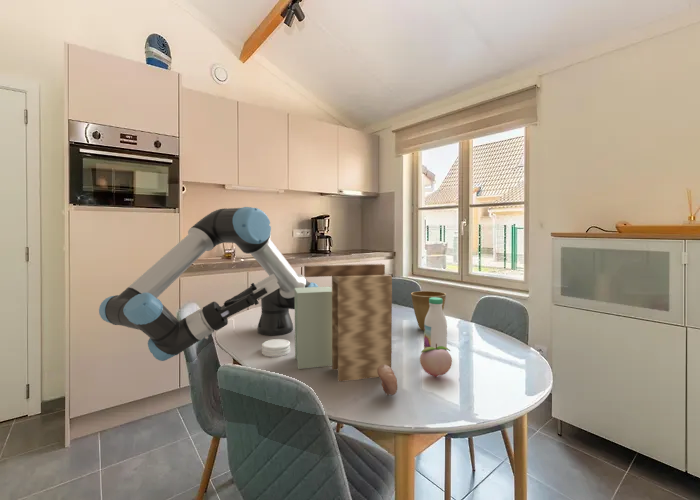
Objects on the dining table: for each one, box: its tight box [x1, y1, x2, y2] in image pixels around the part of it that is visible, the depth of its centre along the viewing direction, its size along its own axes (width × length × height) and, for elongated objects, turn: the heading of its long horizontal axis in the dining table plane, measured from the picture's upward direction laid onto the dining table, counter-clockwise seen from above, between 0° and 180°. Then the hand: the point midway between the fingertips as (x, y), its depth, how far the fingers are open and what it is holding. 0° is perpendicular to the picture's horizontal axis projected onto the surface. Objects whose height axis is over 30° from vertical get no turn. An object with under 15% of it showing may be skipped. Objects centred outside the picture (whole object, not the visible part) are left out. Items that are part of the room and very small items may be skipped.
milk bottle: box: [423, 297, 448, 349], centre depth 119 cm, size 8×8×20 cm
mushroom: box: [377, 365, 398, 396], centre depth 89 cm, size 8×6×8 cm
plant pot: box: [410, 290, 447, 332], centre depth 151 cm, size 15×15×16 cm
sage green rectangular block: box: [294, 286, 332, 370], centre depth 113 cm, size 12×10×24 cm
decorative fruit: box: [419, 344, 453, 378], centre depth 101 cm, size 9×8×10 cm
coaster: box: [261, 338, 291, 358], centre depth 123 cm, size 10×10×4 cm
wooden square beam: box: [303, 263, 386, 278], centre depth 102 cm, size 24×3×3 cm, turn 104°
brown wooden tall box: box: [331, 273, 393, 382], centre depth 104 cm, size 16×10×30 cm, turn 104°
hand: (276, 280), depth 98 cm, fingers open, 13 cm apart
